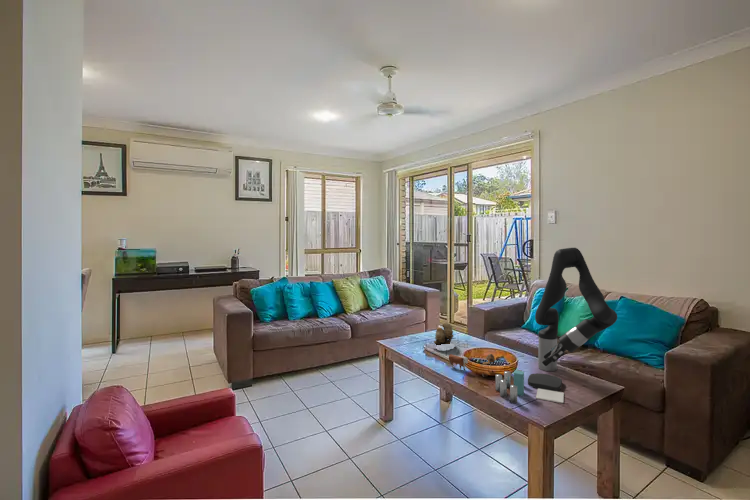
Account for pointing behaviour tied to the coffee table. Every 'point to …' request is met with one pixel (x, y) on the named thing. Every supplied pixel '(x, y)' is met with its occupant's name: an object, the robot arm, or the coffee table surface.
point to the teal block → (519, 381)
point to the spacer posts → (503, 384)
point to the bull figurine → (458, 360)
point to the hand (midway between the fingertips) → (544, 361)
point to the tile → (550, 395)
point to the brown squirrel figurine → (444, 334)
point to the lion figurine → (489, 360)
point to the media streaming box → (545, 382)
